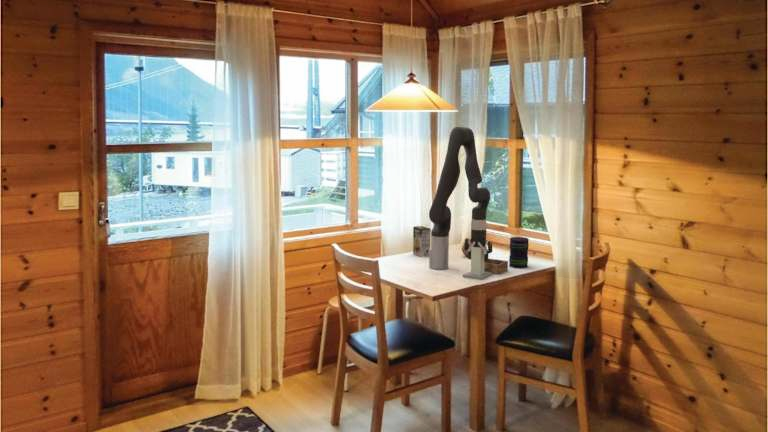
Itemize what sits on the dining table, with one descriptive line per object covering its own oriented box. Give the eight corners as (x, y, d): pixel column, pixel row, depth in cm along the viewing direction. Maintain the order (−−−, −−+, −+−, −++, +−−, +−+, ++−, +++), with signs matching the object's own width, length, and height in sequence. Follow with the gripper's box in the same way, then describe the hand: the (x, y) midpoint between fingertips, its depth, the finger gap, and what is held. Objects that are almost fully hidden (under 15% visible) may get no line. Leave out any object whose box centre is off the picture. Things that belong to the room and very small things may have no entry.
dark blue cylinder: (531, 266, 352) (532, 238, 350) (520, 269, 345) (521, 241, 343) (516, 263, 359) (517, 236, 357) (505, 265, 353) (506, 238, 351)
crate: (480, 271, 339) (480, 262, 339) (488, 267, 348) (489, 258, 347) (499, 274, 334) (499, 264, 333) (507, 270, 342) (507, 261, 341)
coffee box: (412, 254, 382) (412, 226, 380) (422, 253, 385) (422, 225, 383) (420, 257, 374) (421, 229, 372) (430, 256, 377) (430, 228, 375)
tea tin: (470, 273, 330) (471, 247, 328) (475, 271, 334) (475, 245, 332) (479, 275, 327) (480, 248, 325) (484, 273, 331) (485, 246, 329)
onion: (474, 260, 379) (481, 244, 379) (475, 259, 369) (482, 243, 370) (459, 254, 380) (465, 238, 381) (459, 253, 371) (466, 236, 371)
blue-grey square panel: (462, 277, 328) (462, 274, 328) (474, 272, 339) (474, 269, 338) (481, 279, 323) (481, 277, 323) (491, 274, 333) (492, 272, 333)
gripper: (462, 227, 328) (461, 259, 330) (488, 230, 320) (487, 263, 322) (469, 225, 334) (468, 257, 336) (495, 228, 326) (494, 260, 329)
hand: (477, 260), depth 329 cm, fingers open, 8 cm apart
